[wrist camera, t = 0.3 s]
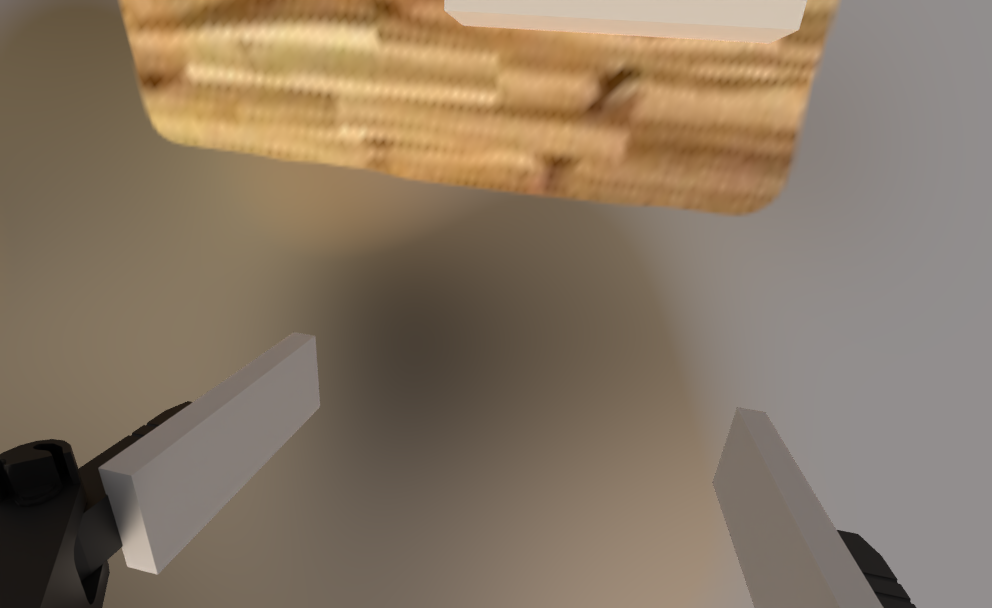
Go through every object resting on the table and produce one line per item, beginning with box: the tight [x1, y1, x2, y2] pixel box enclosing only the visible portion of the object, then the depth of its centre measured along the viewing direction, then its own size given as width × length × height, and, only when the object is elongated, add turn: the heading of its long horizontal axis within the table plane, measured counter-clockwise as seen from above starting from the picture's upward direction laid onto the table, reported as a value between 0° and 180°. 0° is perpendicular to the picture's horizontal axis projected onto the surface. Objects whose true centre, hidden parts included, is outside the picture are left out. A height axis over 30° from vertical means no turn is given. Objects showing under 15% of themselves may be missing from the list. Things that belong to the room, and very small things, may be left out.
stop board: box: [444, 0, 807, 44], centre depth 31 cm, size 2×22×5 cm, turn 86°
